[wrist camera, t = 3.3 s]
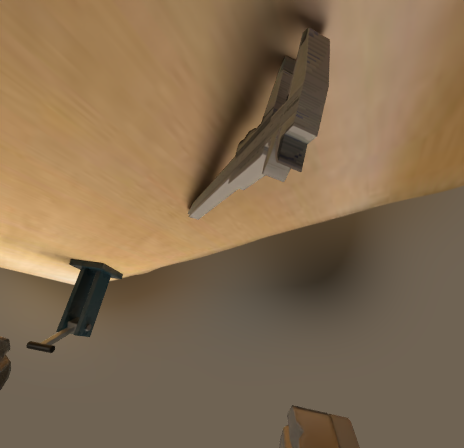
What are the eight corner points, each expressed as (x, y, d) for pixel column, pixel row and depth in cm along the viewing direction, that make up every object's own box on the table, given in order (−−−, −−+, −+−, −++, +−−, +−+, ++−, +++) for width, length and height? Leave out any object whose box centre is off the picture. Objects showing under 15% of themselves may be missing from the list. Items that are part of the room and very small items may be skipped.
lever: (26, 340, 50) (26, 352, 51) (50, 344, 50) (49, 357, 50) (71, 315, 61) (71, 326, 61) (91, 319, 60) (91, 329, 61)
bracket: (71, 259, 62) (41, 329, 56) (103, 263, 60) (77, 336, 54) (94, 270, 70) (70, 332, 64) (123, 274, 68) (101, 338, 62)
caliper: (309, 16, 11) (299, 137, 8) (330, 29, 11) (328, 150, 9) (188, 209, 29) (173, 267, 26) (198, 212, 29) (184, 270, 27)
